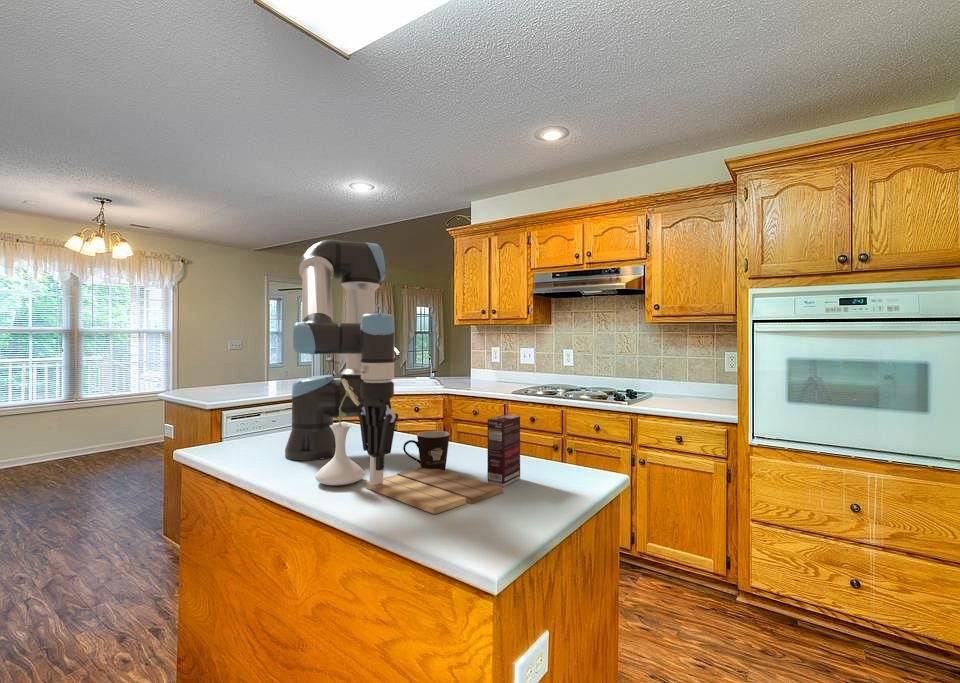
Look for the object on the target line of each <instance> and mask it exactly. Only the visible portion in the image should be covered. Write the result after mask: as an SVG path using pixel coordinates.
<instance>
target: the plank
mask: <svg viewBox="0 0 960 683" xmlns="http://www.w3.org/2000/svg"><path fill="white" fill-rule="evenodd" d="M364 485H365V486H364V488H366V489H369V490H370V491H373V492H375V493H379V494H381V495H383V496H386V497H389V498H390V499H391V498H392V499H394V500H396V501H399V502H402V503H404V504H407V505H410V506H412V507H415V508H418V509H420V510H423V511H425V512H427V513H431V514H432V515H436V514H440V513H443V512H445V511H448V510H452V509H454V508H456V507H460V506H463V505H466V504H467V503H466V498H465V497H462V496H459V495H456V494H453V493H450V492H447V491H444V490H441V489H438V488H435V487H432V486H429V485H426V484H423V483H420V482H417V481H414V480H411V479H408V478H405V477H402V476H399V475H397V474H394V475H391V476H387V477H386V476H385V477H383V483H381V484H377V485H371V484H370V480H369V481H365V484H364Z"/></svg>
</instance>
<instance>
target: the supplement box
mask: <svg viewBox="0 0 960 683" xmlns="http://www.w3.org/2000/svg"><path fill="white" fill-rule="evenodd" d="M486 477H487V482H486V483H489V484H493V485H496V486H500V487H503V488H505V487H506V486H508V485H510V484H511V483H514V482H516V481H518V480H520V479H521V416H520V415H515V414H513V415H512V414H503V415H499V416H495V417H491V418H487V476H486Z"/></svg>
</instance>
